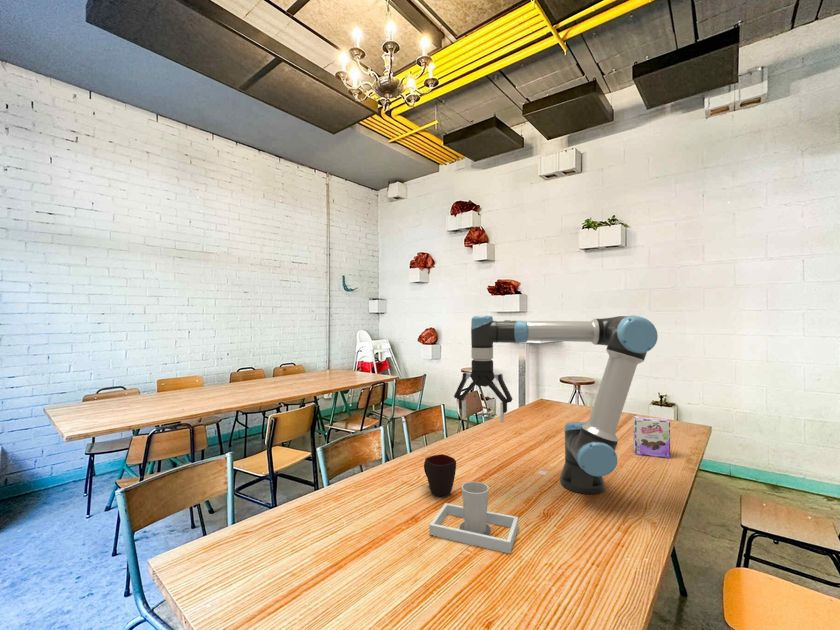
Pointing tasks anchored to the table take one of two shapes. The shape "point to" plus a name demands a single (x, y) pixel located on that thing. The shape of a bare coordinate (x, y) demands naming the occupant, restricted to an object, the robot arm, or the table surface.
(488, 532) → the pad
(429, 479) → the mug
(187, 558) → the table surface
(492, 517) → the open rectangular frame
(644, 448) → the candy box
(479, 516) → the cup
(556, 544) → the table surface
